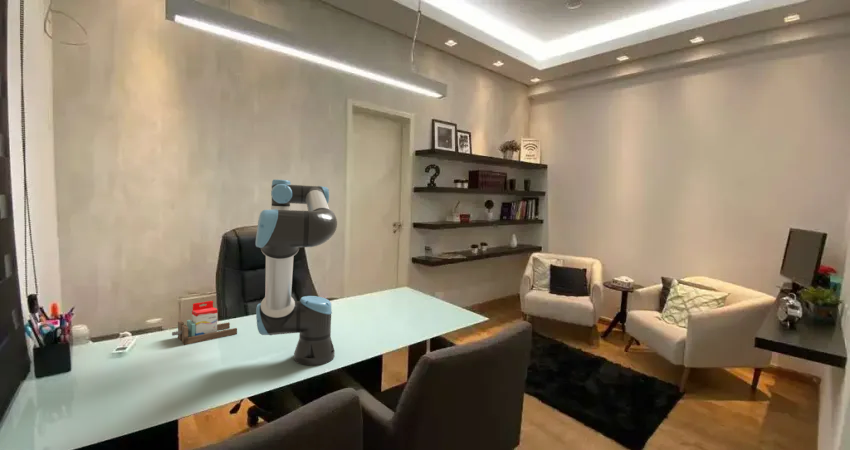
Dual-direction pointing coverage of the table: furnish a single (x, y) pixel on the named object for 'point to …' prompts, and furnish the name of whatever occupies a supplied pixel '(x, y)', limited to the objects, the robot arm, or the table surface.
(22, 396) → the table surface
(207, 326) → the ink box
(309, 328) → the robot arm
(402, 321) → the table surface
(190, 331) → the pusher
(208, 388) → the table surface
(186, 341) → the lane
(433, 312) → the table surface
